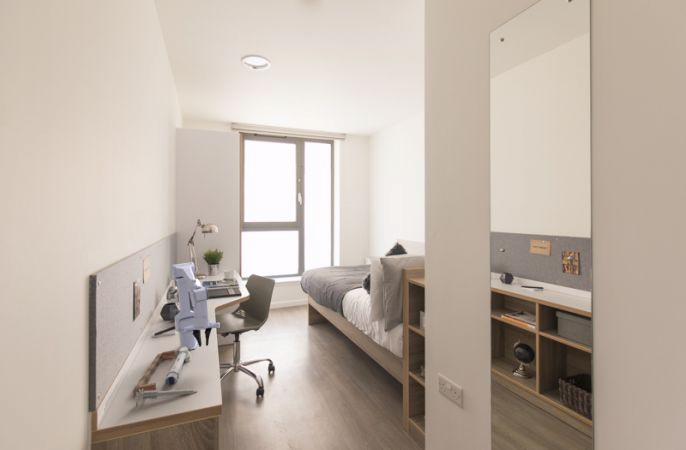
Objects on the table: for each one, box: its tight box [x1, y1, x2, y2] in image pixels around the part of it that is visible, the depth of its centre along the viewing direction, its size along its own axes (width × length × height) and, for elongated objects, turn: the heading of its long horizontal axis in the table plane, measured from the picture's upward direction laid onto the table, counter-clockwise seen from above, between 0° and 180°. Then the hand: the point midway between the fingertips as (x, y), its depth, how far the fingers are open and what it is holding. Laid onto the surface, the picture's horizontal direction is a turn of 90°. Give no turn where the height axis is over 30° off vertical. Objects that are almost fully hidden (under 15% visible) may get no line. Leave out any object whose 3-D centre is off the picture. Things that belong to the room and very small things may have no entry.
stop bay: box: [133, 349, 177, 397], centre depth 145 cm, size 32×8×3 cm, turn 14°
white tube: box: [164, 347, 191, 386], centre depth 147 cm, size 5×7×25 cm
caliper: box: [134, 388, 198, 407], centre depth 125 cm, size 20×1×6 cm, turn 112°
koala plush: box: [172, 290, 194, 320], centre depth 214 cm, size 17×18×20 cm
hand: (203, 345), depth 149 cm, fingers closed
